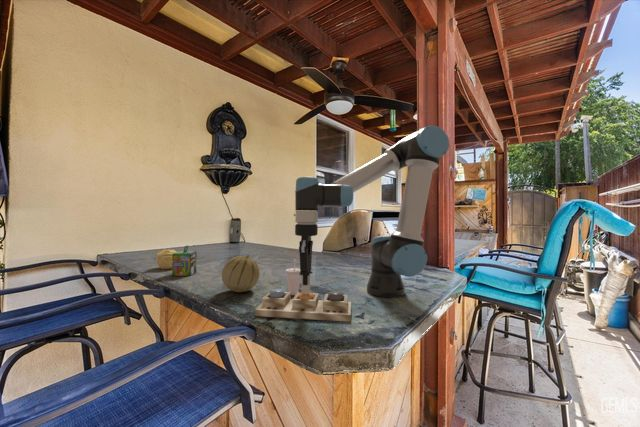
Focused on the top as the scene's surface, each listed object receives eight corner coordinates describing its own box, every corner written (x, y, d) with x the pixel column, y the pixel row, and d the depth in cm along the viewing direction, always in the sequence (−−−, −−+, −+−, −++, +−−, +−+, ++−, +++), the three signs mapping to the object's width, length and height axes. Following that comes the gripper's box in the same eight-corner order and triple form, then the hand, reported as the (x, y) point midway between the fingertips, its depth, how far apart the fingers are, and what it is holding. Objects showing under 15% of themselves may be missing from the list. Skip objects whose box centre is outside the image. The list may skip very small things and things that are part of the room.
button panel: (350, 307, 93) (351, 294, 93) (350, 321, 81) (350, 306, 81) (266, 303, 97) (267, 290, 97) (254, 315, 85) (254, 301, 85)
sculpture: (154, 271, 146) (154, 251, 146) (159, 266, 157) (159, 248, 157) (177, 269, 150) (177, 250, 150) (181, 265, 161) (181, 247, 161)
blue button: (286, 296, 94) (286, 288, 94) (282, 300, 89) (282, 293, 89) (272, 295, 94) (272, 288, 94) (267, 300, 90) (267, 292, 90)
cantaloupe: (216, 290, 112) (217, 254, 112) (250, 284, 121) (250, 251, 121) (229, 299, 100) (229, 259, 100) (265, 292, 109) (265, 255, 109)
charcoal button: (343, 298, 91) (343, 291, 91) (342, 303, 86) (343, 296, 86) (328, 298, 92) (328, 290, 92) (327, 303, 87) (327, 295, 87)
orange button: (314, 299, 93) (314, 292, 93) (312, 304, 88) (312, 297, 88) (300, 299, 93) (300, 291, 93) (297, 303, 88) (297, 296, 88)
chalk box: (179, 272, 144) (179, 244, 143) (196, 272, 145) (197, 244, 144) (171, 276, 134) (171, 247, 134) (190, 276, 135) (190, 246, 135)
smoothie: (298, 296, 104) (299, 260, 104) (283, 295, 105) (283, 260, 105) (303, 292, 110) (303, 257, 110) (288, 291, 112) (288, 257, 112)
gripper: (299, 222, 97) (298, 287, 97) (291, 224, 84) (290, 299, 84) (319, 222, 96) (319, 288, 96) (314, 224, 83) (314, 300, 83)
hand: (305, 293), depth 90 cm, fingers closed
